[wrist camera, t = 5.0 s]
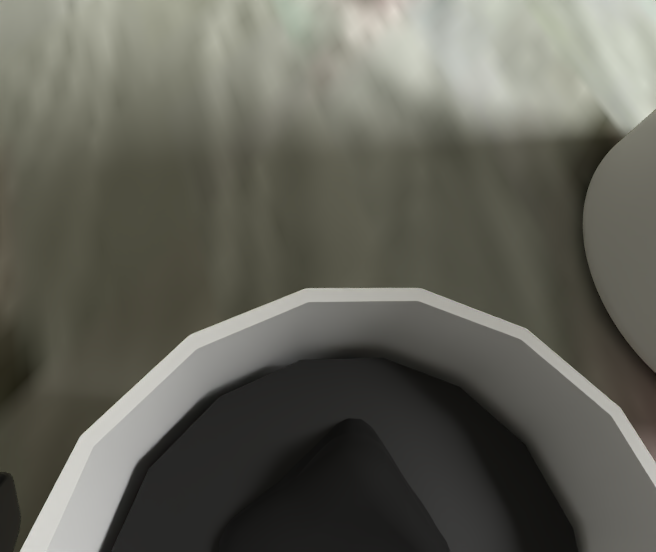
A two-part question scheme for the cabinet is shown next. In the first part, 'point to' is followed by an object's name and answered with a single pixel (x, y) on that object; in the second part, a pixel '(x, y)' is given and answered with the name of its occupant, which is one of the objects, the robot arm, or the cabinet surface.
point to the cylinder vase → (626, 236)
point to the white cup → (357, 441)
